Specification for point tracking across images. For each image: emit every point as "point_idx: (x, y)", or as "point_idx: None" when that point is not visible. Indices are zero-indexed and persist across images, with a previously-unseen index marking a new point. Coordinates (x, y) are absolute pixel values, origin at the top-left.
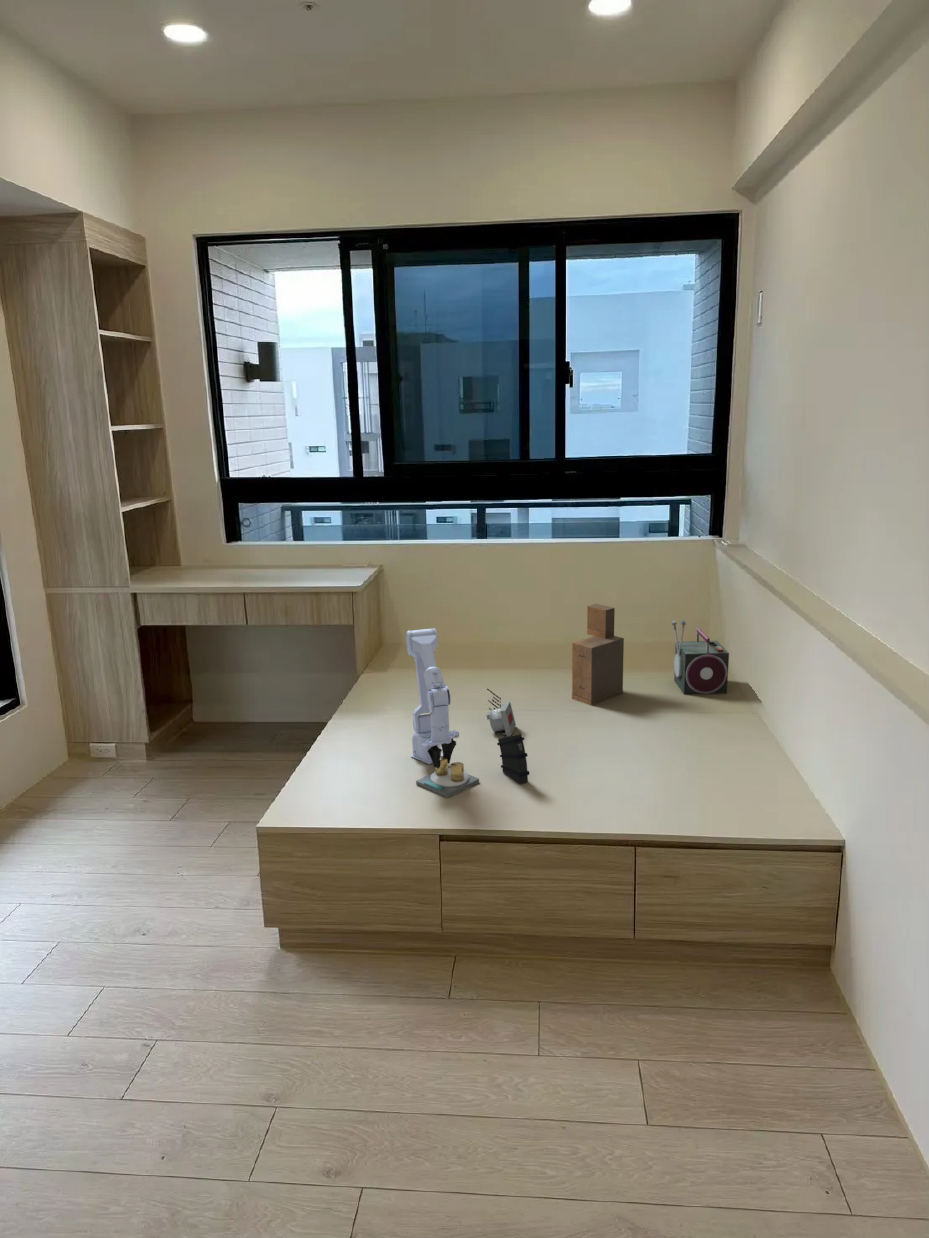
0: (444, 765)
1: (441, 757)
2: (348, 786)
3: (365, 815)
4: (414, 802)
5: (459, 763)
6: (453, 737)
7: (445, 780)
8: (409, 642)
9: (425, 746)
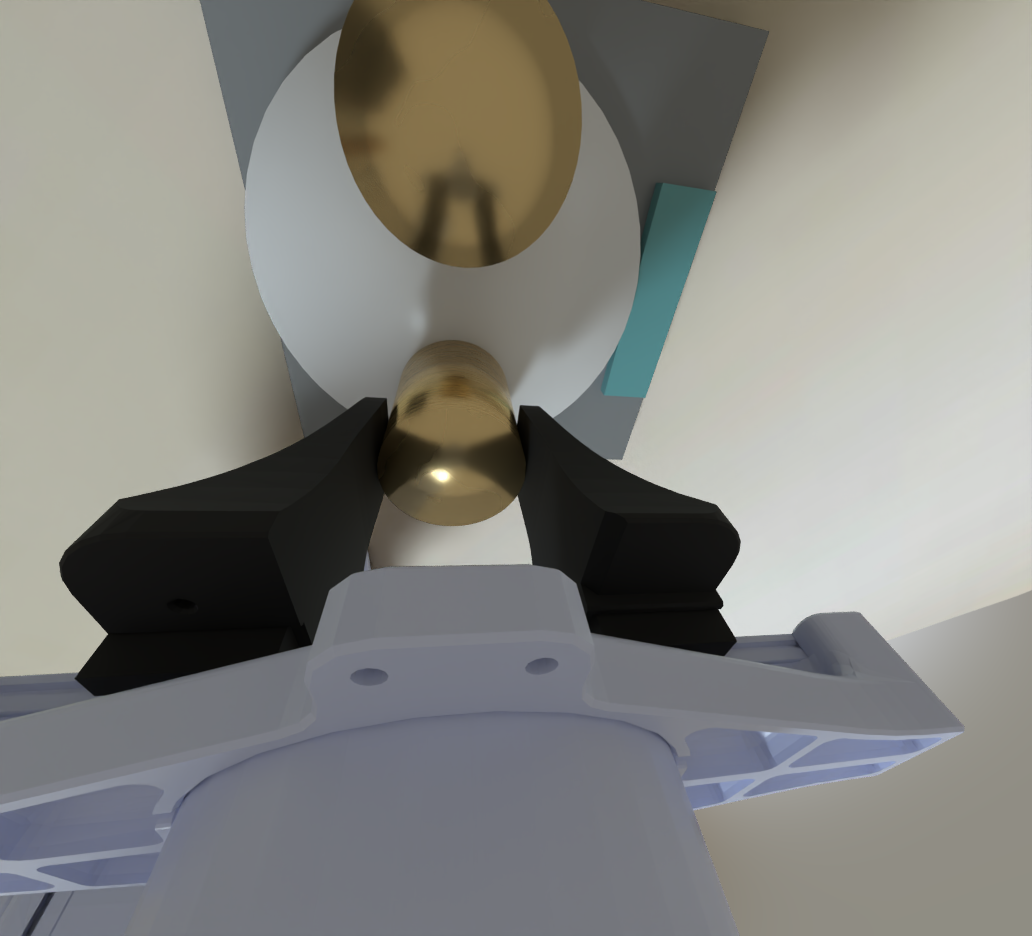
0: (473, 384)
1: (430, 487)
2: (739, 610)
3: (1028, 406)
4: (861, 281)
5: (390, 132)
6: (38, 715)
7: (552, 262)
8: None
9: (943, 712)
